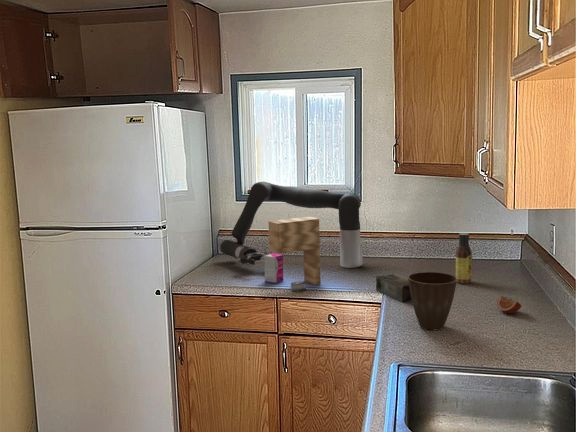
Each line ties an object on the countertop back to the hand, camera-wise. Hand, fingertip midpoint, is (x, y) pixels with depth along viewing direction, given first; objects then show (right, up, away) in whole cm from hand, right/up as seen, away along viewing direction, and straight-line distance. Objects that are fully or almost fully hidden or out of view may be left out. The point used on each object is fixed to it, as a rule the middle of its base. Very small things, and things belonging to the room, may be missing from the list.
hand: (262, 261), depth 256 cm
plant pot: (+57, -16, -67) cm, 90 cm away
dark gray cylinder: (+15, -10, -22) cm, 29 cm away
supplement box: (+5, -8, -7) cm, 12 cm away
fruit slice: (+86, -13, -56) cm, 103 cm away
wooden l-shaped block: (+14, -9, -14) cm, 22 cm away
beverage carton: (+52, -11, -32) cm, 62 cm away
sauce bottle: (+82, -7, -17) cm, 84 cm away
